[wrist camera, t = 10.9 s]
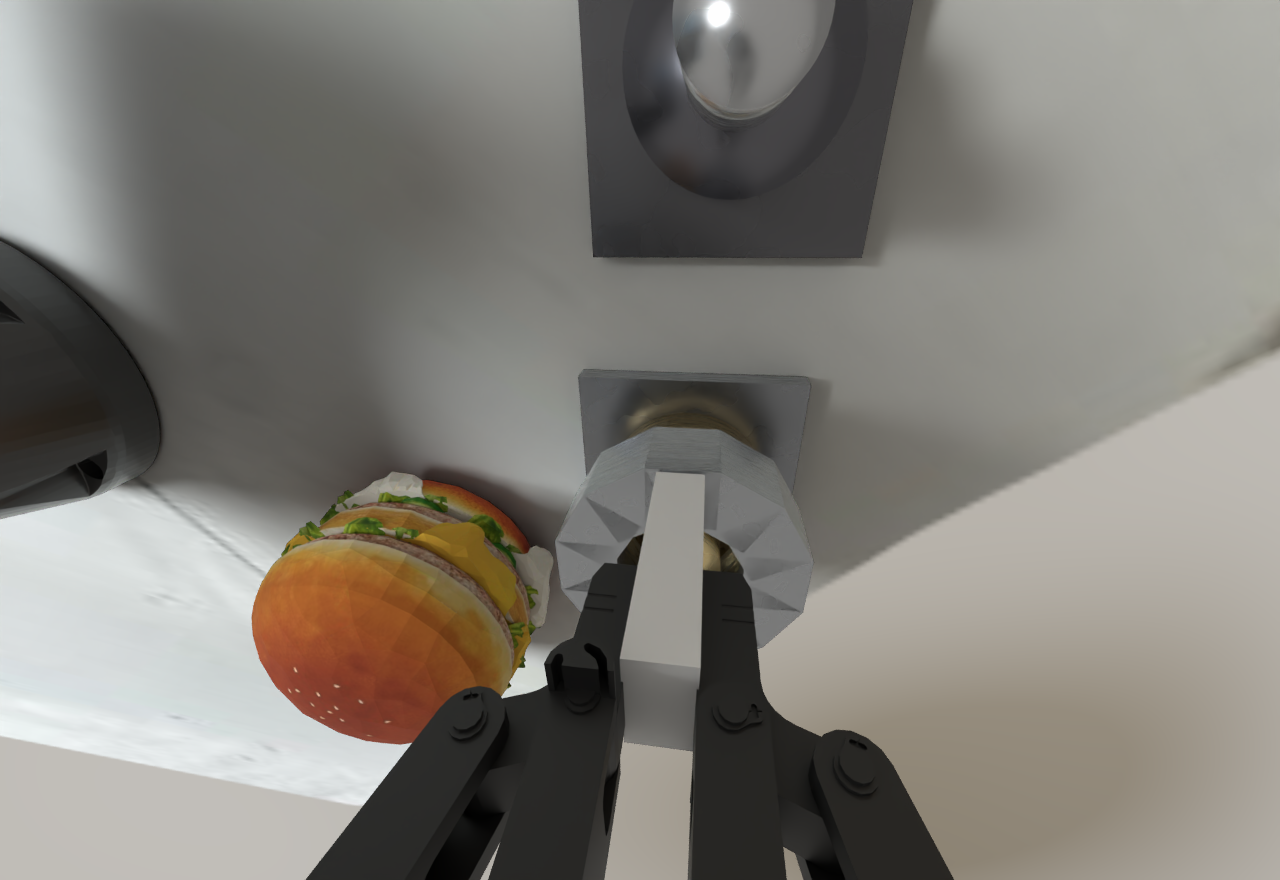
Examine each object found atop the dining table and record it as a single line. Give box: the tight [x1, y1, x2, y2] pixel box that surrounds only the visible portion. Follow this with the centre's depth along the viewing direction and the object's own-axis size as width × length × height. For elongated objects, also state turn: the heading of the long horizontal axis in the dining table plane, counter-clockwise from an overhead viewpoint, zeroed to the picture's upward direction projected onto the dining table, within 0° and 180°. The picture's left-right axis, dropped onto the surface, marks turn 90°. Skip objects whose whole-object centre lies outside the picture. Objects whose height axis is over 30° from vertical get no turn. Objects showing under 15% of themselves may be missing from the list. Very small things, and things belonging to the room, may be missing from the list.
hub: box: [578, 369, 811, 571], centre depth 20 cm, size 10×10×7 cm
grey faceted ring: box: [555, 427, 814, 649], centre depth 18 cm, size 9×9×3 cm
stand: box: [578, 0, 913, 258], centre depth 12 cm, size 10×10×9 cm
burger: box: [252, 472, 554, 744], centre depth 24 cm, size 13×14×10 cm
